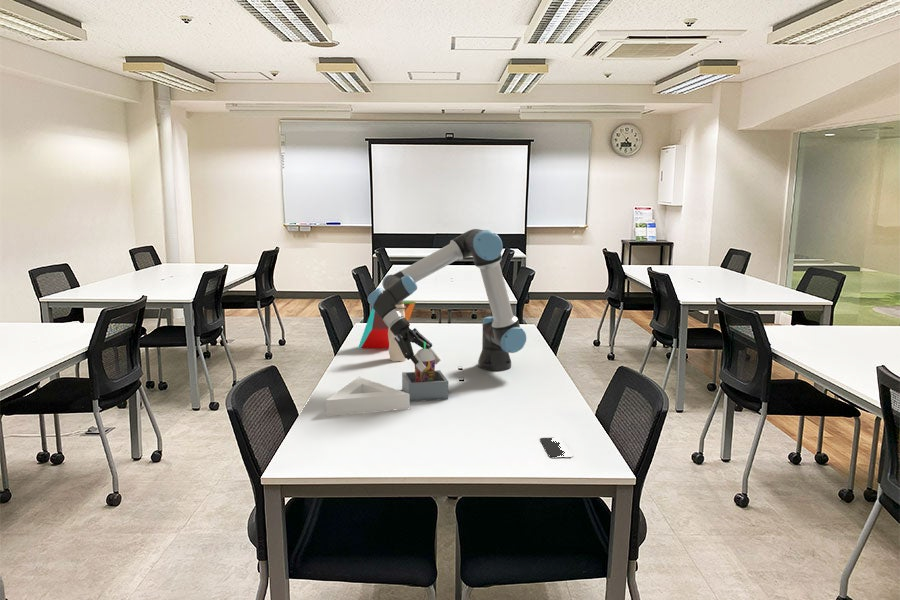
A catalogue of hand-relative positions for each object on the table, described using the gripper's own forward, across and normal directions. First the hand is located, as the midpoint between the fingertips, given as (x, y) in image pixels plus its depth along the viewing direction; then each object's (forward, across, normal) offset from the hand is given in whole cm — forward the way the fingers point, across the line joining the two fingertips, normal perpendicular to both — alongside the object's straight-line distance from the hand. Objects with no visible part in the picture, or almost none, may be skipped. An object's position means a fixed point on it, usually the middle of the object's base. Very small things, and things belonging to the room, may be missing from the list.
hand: (431, 366), depth 245 cm
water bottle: (-19, -39, -36) cm, 56 cm away
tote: (+6, 0, -10) cm, 12 cm away
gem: (-31, -56, -48) cm, 80 cm away
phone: (+50, +27, +33) cm, 66 cm away
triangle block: (-5, +18, -22) cm, 29 cm away
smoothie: (+6, 0, -10) cm, 11 cm away
